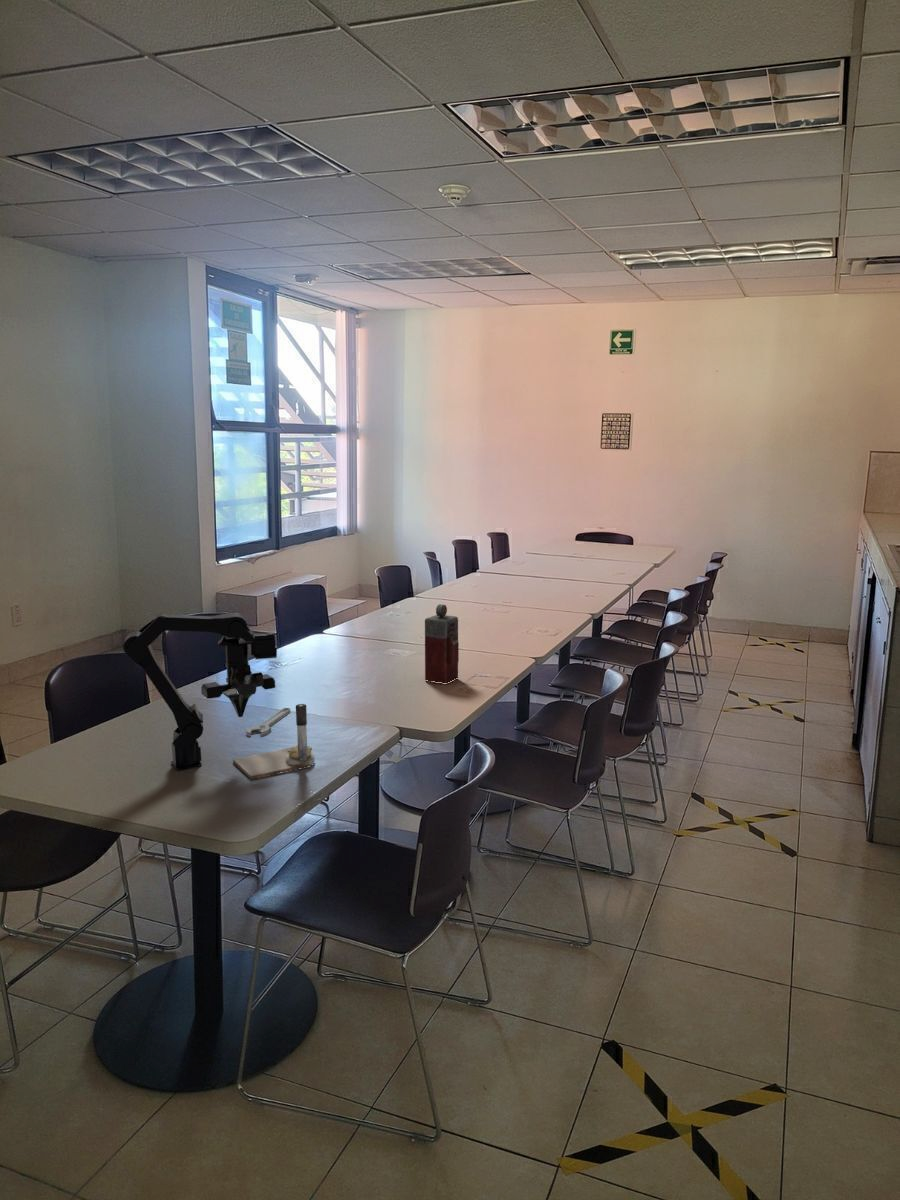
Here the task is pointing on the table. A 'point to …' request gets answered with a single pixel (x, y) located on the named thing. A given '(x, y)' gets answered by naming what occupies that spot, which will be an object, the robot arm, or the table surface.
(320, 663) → the table surface
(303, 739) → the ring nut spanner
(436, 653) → the knobbed red-grey post
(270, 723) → the adjustable wrench
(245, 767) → the brown wooden board
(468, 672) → the table surface
